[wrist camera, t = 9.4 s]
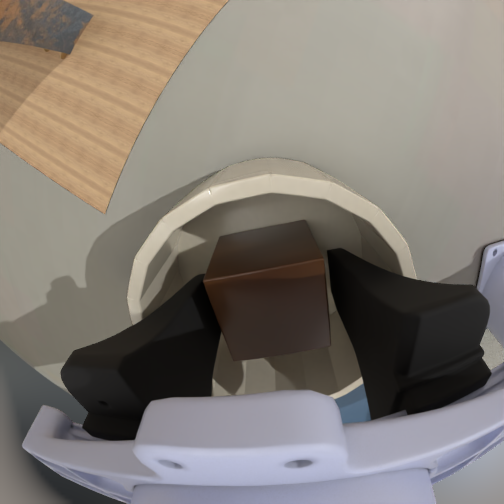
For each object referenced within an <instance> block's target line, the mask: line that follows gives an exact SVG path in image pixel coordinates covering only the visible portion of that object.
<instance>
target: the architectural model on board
mask: <svg viewBox="0 0 504 504" xmlns="http://www.w3.org/2000/svg"><path fill="white" fill-rule="evenodd" d="M227 1H228V0H0V143H2V144H3V145H4V146H6V147H7V148H8V149H10V150H11V151H12V152H14V153H15V154H16V155H18V156H19V157H21V158H22V159H23V160H25V161H26V162H28V163H29V164H30V165H32V166H33V167H35V168H36V169H38V170H39V171H40V172H42V173H43V174H45V175H46V176H48V177H49V178H51V179H52V180H53V181H55V182H56V183H58V184H59V185H61V186H62V187H64V188H65V189H67V190H68V191H70V192H71V193H73V194H74V195H76V196H77V197H79V198H80V199H82V200H84V201H85V202H87V203H88V204H90V205H91V206H93V207H94V208H96V209H98V210H99V211H101V212H102V213H104V214H105V212H106V209H107V207H108V204H109V201H110V198H111V196H112V193H113V191H114V188H115V186H116V183H117V181H118V178H119V176H120V173H121V171H122V169H123V166H124V164H125V162H126V160H127V157H128V155H129V153H130V151H131V149H132V147H133V145H134V142H135V140H136V138H137V136H138V134H139V132H140V130H141V128H142V126H143V124H144V123H145V121H146V119H147V117H148V115H149V113H150V111H151V110H152V108H153V106H154V104H155V102H156V101H157V99H158V97H159V95H160V94H161V92H162V90H163V89H164V87H165V85H166V84H167V82H168V81H169V79H170V77H171V76H172V74H173V73H174V71H175V70H176V68H177V66H178V65H179V63H180V62H181V61H182V59H183V58H184V56H185V55H186V53H187V52H188V50H189V49H190V48H191V46H192V45H193V43H194V42H195V41H196V39H197V38H198V37H199V35H200V34H201V33H202V31H203V30H204V29H205V28H206V26H207V25H208V24H209V23H210V21H211V20H212V19H213V18H214V16H215V15H216V14H217V13H218V12H219V10H220V9H221V8H222V7H223V6H224V5H225V4H226V2H227Z"/></svg>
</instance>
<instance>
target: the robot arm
mask: <svg viewBox="0 0 504 504" xmlns="http://www.w3.org/2000/svg"><path fill="white" fill-rule="evenodd" d="M327 256H328V266H329V276H330V287H331V293H332V296H333V300H334V303H335V306H336V309H337V311H338V314H339V316H340V318H341V320H342V323H343V325H344V327H345V329H346V332H347V334H348V336H349V339H350V341H351V343H352V345H353V348H354V351H355V354H356V357H357V361H358V364H359V368H360V372H361V376H362V380H363V384H364V388H365V392H366V397H367V402H368V407H369V412H370V417H371V421H366V422H357V423H345V424H342V419H341V414H340V410H339V407H338V406H337V404H336V402H335V400H334V399H333V397H330V396H327V395H324V394H321V393H318V392H315V391H312V390H279V391H272V392H263V393H254V394H244V395H231V396H214V397H211V395H212V380H213V371H214V365H215V361H216V356H217V351H218V346H219V341H220V336H221V329H220V326H219V323H218V321H217V318H216V315H215V313H214V310H213V307H212V305H211V302H210V299H209V297H208V294H207V291H206V288H205V285H204V283H203V279H204V276H205V273H204V274H199V275H196V276H195V277H193V278H192V279H191V280H190V281H189V282H187V283H186V284H185V285H184V286H183V287H182V288H181V289H180V290H179V291H177V292H176V293H175V294H174V295H173V296H172V297H171V298H170V299H168V300H167V301H166V302H165V303H164V304H162V305H161V306H160V307H159V308H158V309H156V310H155V311H154V312H152V313H151V314H150V315H148V316H147V317H145V318H144V319H142V320H141V321H139V322H138V323H136V324H134V325H132V326H131V327H129V328H127V329H125V330H124V331H122V332H120V333H118V334H116V335H114V336H112V337H110V338H107V339H105V340H103V341H100V342H98V343H95V344H92V345H89V346H86V347H83V348H80V349H77V350H74V351H73V352H72V354H71V355H70V357H69V358H68V360H67V361H66V363H65V364H64V366H63V368H62V369H61V378H62V381H63V383H64V385H65V387H66V388H67V389H68V391H69V392H70V393H71V394H72V395H73V396H74V397H75V399H76V400H77V401H78V402H79V403H80V404H81V405H82V406H83V407H84V408H85V409H86V410H87V411H88V412H89V413H88V415H87V417H86V419H85V421H84V424H83V425H82V424H78V423H74V422H72V420H71V419H70V418H69V417H68V416H67V415H66V414H65V413H64V412H62V411H61V410H59V409H56V408H52V407H50V406H46V405H43V406H42V407H41V409H40V411H39V413H38V415H37V417H36V418H35V420H34V422H33V424H32V426H31V428H30V430H29V432H28V434H27V436H26V438H25V440H24V442H23V444H22V447H23V448H24V449H25V450H27V451H28V452H29V453H30V454H32V455H33V456H34V457H36V458H37V459H38V460H40V461H41V462H42V463H44V464H45V465H46V466H48V467H49V468H51V469H52V470H54V471H55V472H57V473H58V474H60V475H61V476H63V477H65V478H67V479H69V480H71V481H74V482H76V483H78V484H80V485H82V486H85V487H87V488H89V489H91V490H94V491H96V492H98V493H101V494H103V495H106V496H108V497H111V498H114V499H116V500H119V501H122V502H125V503H128V504H437V503H436V499H435V495H434V491H433V487H432V485H433V484H435V483H437V482H439V481H441V480H443V479H445V478H446V477H448V476H450V475H452V474H454V473H455V472H457V471H459V470H461V469H462V468H464V467H466V466H467V465H469V464H471V463H472V462H474V461H475V460H477V459H478V458H480V457H481V456H483V455H484V454H486V453H487V452H489V451H490V450H492V449H493V448H494V447H496V446H497V445H498V444H500V443H501V442H502V441H503V440H504V362H503V363H502V364H500V365H498V366H497V367H495V368H493V369H492V370H490V369H489V368H488V366H487V365H486V363H485V362H484V360H483V359H482V357H483V355H484V350H483V349H482V348H481V346H480V342H481V340H482V337H483V335H484V332H485V329H487V328H488V329H489V330H490V332H491V333H492V334H493V335H494V337H495V338H496V339H497V340H498V342H499V343H500V344H501V346H502V347H503V348H504V241H500V242H497V243H494V244H491V245H488V246H487V247H486V248H485V250H484V253H483V259H482V265H481V270H480V275H479V280H478V284H477V289H476V288H475V287H474V286H473V285H453V284H441V283H433V282H427V281H422V280H417V279H413V278H409V277H405V276H402V275H399V274H396V273H393V272H390V271H387V270H385V269H382V268H380V267H378V266H376V265H373V264H371V263H369V262H367V261H365V260H363V259H361V258H360V257H358V256H356V255H354V254H352V253H350V252H349V251H347V250H345V249H343V248H336V249H331V250H327Z"/></svg>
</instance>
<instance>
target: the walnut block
mask: <svg viewBox="0 0 504 504" xmlns="http://www.w3.org/2000/svg"><path fill="white" fill-rule="evenodd" d="M203 283H204V285H205V288H206V291H207V294H208V297H209V299H210V302H211V305H212V307H213V310H214V313H215V315H216V318H217V321H218V323H219V326H220V329H221V331H222V334H223V336H224V339H225V341H226V344H227V346H228V349H229V351H230V354H231V356H232V359H233V361H244V360H252V359H260V358H267V357H274V356H281V355H287V354H293V353H299V352H304V351H310V350H315V349H320V348H325V347H330V346H331V332H330V317H329V304H328V293H327V282H326V273H325V263H324V258H323V256H322V254H321V251H320V249H319V247H318V245H317V243H316V241H315V239H314V237H313V235H312V233H311V230H310V228H309V226H308V224H307V222H306V220H299V221H294V222H289V223H284V224H278V225H273V226H268V227H263V228H258V229H253V230H248V231H243V232H238V233H234V234H229V235H224V236H220V237H219V239H218V241H217V244H216V247H215V249H214V252H213V255H212V257H211V260H210V263H209V265H208V268H207V271H206V273H205V276H204V279H203Z"/></svg>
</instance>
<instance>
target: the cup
mask: <svg viewBox="0 0 504 504" xmlns="http://www.w3.org/2000/svg"><path fill="white" fill-rule="evenodd" d="M299 220H306V222H307V224H308V226H309V228H310V230H311V233H312V235H313V237H314V239H315V241H316V243H317V245H318V247H319V249H320V251H321V254H322V256H323V258H324V263H325V273H326V282H327V293H328V304H329V317H330V332H331V346H330V347H325V348H320V349H315V350H310V351H304V352H299V353H293V354H287V355H281V356H274V357H267V358H260V359H252V360H244V361H233V359H232V356H231V354H230V351H229V349H228V346H227V344H226V341H225V339H224V336H223V334H222V331H221V336H220V341H219V346H218V351H217V356H216V361H215V365H214V371H213V380H212V395H211V397H214V396H231V395H244V394H254V393H263V392H272V391H279V390H312V391H315V392H318V393H321V394H324V395H327V396H330V397H333V399H337V398H339V397H342V396H343V395H346V394H347V393H349V392H351V391H352V390H354V389H355V388H357V387H358V386H360V385H361V384H363V380H362V376H361V372H360V368H359V364H358V361H357V357H356V354H355V351H354V348H353V345H352V343H351V341H350V339H349V336H348V334H347V332H346V329H345V327H344V325H343V323H342V320H341V318H340V316H339V314H338V311H337V309H336V306H335V303H334V300H333V296H332V293H331V287H330V276H329V266H328V256H327V250H331V249H336V248H343V249H345V250H347V251H349V252H350V253H352V254H354V255H356V256H358V257H360V258H361V259H363V260H365V261H367V262H369V263H371V264H373V265H376V266H378V267H380V268H382V269H385V270H387V271H390V272H393V273H396V274H399V275H402V276H405V277H409V278H413V279H417V277H416V273H415V269H414V265H413V261H412V257H411V253H410V250H409V246H408V244H407V242H406V241H405V239H404V238H403V237H402V235H401V234H400V233H399V232H398V230H397V229H396V228H395V226H394V225H393V224H392V222H391V221H390V220H389V219H388V217H387V216H386V215H385V214H384V212H383V211H382V210H381V209H380V208H379V207H377V206H376V205H375V204H373V203H372V202H370V201H369V200H367V199H366V198H365V197H363V196H362V195H360V194H359V193H357V192H356V191H354V190H353V189H351V188H350V187H348V186H347V185H345V184H344V183H342V182H340V181H339V180H337V179H336V178H334V177H332V176H330V175H328V174H326V173H324V172H323V171H321V170H319V169H317V168H315V167H313V166H310V165H308V164H306V163H303V162H299V161H295V160H290V159H282V158H259V159H252V160H247V161H244V162H240V163H237V164H234V165H230V166H228V167H226V168H224V169H223V170H220V171H219V172H217V173H216V174H214V175H213V176H211V177H210V178H208V179H207V180H205V181H204V182H202V183H200V184H199V185H198V186H197V187H196V188H194V189H193V190H192V191H191V192H190V193H189V194H188V195H186V196H185V197H184V198H183V199H182V200H181V201H180V202H179V203H177V204H176V205H175V206H174V207H173V208H172V209H171V210H170V211H169V212H168V213H167V214H165V215H164V216H163V217H162V218H161V219H160V220H159V222H158V223H157V225H156V226H155V227H154V229H153V230H152V232H151V233H150V235H149V236H148V238H147V239H146V240H145V242H144V243H143V245H142V246H141V248H140V249H139V251H138V252H137V254H136V255H135V258H134V262H133V266H132V271H131V276H130V281H129V287H128V292H127V301H128V307H129V312H130V317H131V322H132V325H134V324H136V323H138V322H139V321H141V320H142V319H144V318H145V317H147V316H148V315H150V314H151V313H152V312H154V311H155V310H156V309H158V308H159V307H160V306H161V305H162V304H164V303H165V302H166V301H167V300H168V299H170V298H171V297H172V296H173V295H174V294H175V293H176V292H177V291H179V290H180V289H181V288H182V287H183V286H184V285H185V284H186V283H187V282H189V281H190V280H191V279H192V278H193V277H195V276H196V275H199V274H204V273H206V271H207V268H208V265H209V263H210V260H211V257H212V255H213V252H214V249H215V247H216V244H217V241H218V239H219V237H220V236H224V235H229V234H234V233H238V232H243V231H248V230H253V229H258V228H263V227H268V226H273V225H278V224H284V223H289V222H294V221H299Z"/></svg>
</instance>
